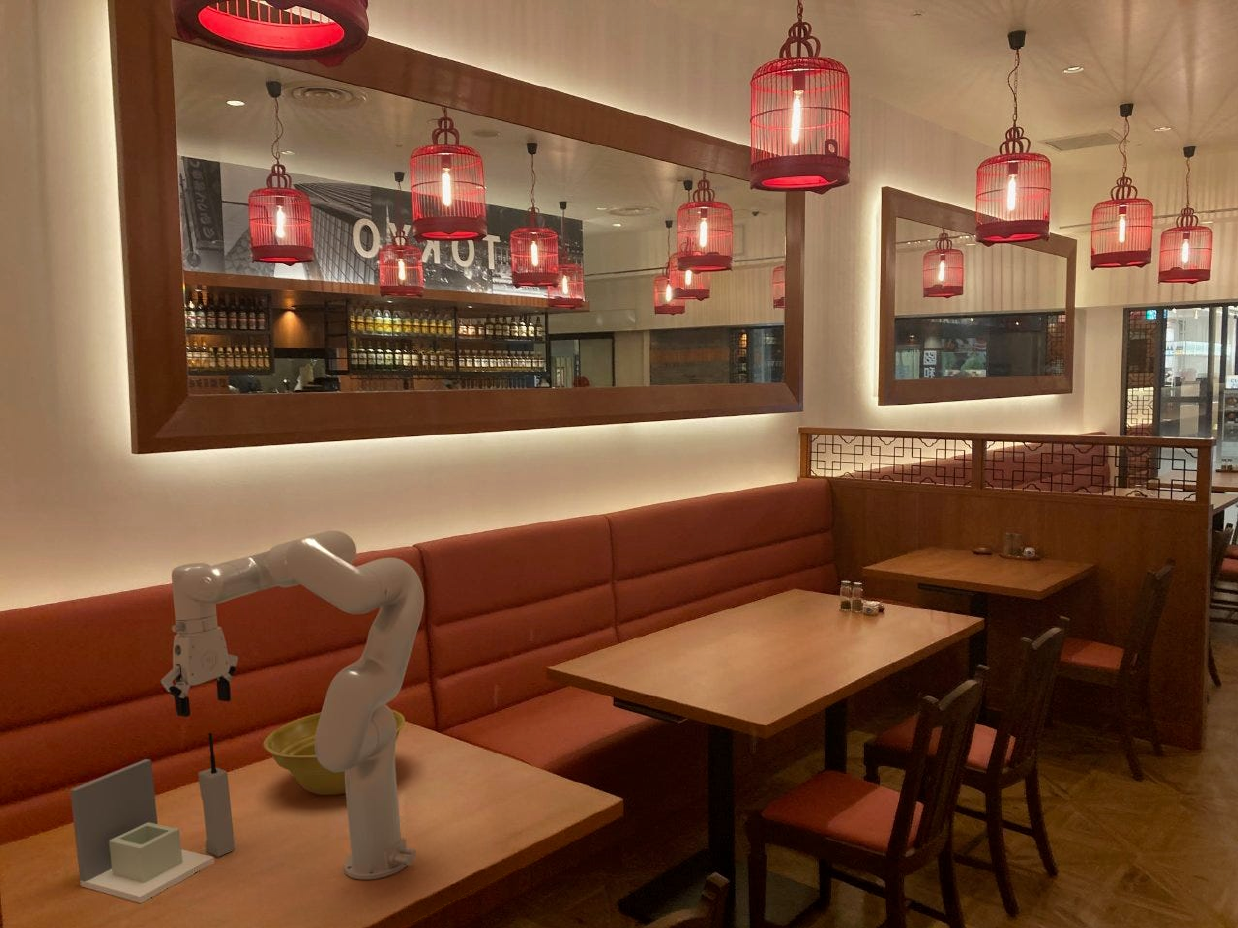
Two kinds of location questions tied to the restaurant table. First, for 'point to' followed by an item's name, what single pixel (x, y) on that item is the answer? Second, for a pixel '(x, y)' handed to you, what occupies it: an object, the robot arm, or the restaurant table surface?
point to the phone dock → (127, 837)
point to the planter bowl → (308, 754)
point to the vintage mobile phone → (216, 808)
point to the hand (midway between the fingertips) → (204, 707)
